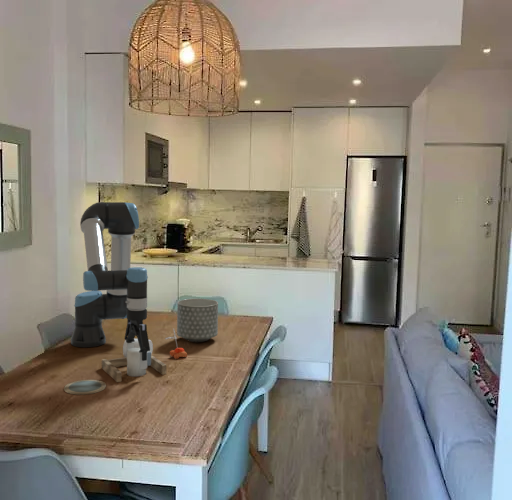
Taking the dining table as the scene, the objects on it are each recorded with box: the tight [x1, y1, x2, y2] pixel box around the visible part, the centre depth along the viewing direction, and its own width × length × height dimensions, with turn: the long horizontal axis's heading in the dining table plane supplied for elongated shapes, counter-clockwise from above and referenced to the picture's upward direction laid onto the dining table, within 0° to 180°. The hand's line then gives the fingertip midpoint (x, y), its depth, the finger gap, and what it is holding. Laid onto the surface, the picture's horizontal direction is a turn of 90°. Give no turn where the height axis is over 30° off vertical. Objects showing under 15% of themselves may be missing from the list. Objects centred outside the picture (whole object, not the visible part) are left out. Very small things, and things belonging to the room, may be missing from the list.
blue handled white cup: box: [126, 348, 151, 377], centre depth 205 cm, size 7×9×9 cm
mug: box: [122, 338, 154, 357], centre depth 226 cm, size 12×10×8 cm
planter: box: [176, 298, 219, 343], centre depth 254 cm, size 19×19×18 cm
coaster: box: [63, 379, 107, 396], centre depth 188 cm, size 14×14×1 cm
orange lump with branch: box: [164, 328, 188, 360], centre depth 226 cm, size 6×10×12 cm, turn 88°
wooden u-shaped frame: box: [101, 354, 167, 383], centre depth 207 cm, size 18×19×4 cm
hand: (136, 363), depth 204 cm, fingers open, 13 cm apart
